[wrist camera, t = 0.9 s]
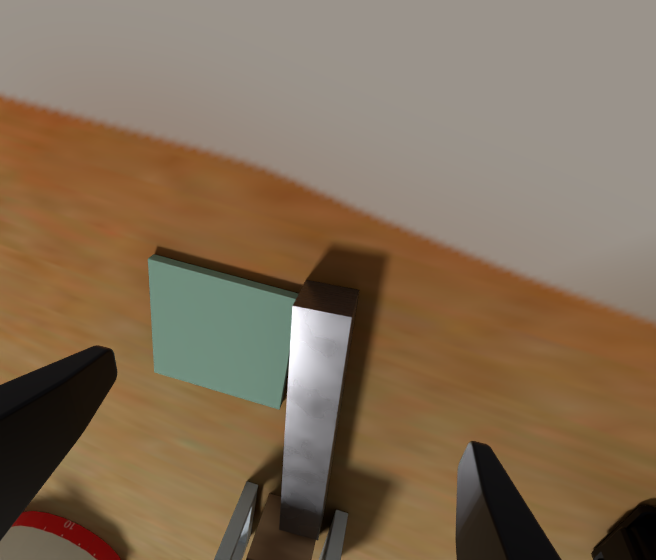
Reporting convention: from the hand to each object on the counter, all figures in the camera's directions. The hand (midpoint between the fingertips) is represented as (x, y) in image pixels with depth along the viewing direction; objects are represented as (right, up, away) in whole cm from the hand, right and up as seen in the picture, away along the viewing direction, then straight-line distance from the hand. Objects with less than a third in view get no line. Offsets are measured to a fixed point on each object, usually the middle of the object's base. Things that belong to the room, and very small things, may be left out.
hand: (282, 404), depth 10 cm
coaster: (-6, 0, +16) cm, 17 cm away
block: (-2, -17, +24) cm, 30 cm away
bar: (0, -6, +18) cm, 19 cm away
